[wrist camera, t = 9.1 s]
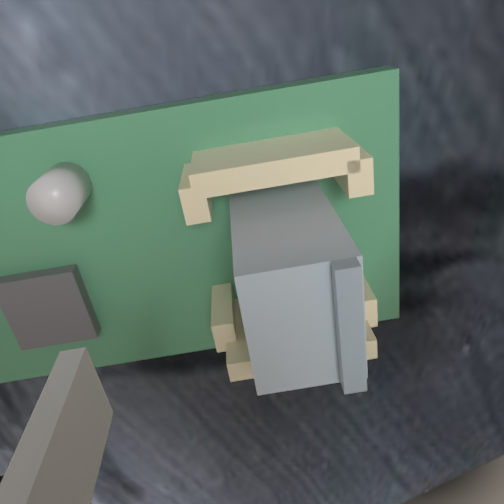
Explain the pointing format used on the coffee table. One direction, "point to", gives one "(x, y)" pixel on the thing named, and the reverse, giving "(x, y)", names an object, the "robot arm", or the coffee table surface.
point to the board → (182, 216)
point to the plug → (298, 289)
